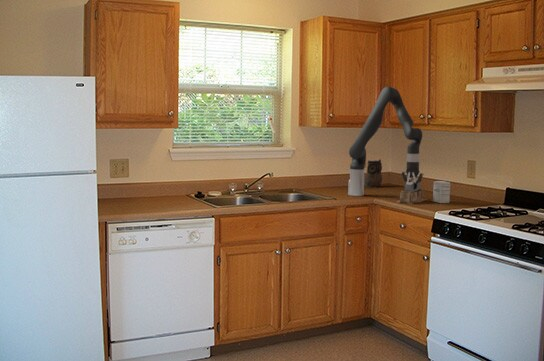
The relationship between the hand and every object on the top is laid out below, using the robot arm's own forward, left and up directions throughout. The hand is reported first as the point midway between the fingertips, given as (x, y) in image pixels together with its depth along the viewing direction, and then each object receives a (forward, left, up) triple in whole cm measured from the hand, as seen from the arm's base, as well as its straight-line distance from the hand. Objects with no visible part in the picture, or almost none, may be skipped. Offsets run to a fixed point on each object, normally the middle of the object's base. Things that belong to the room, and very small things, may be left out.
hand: (412, 188), depth 392 cm
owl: (-55, +53, -8) cm, 77 cm away
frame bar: (0, 0, -1) cm, 2 cm away
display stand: (0, 0, -8) cm, 8 cm away
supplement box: (+15, +10, -8) cm, 20 cm away
